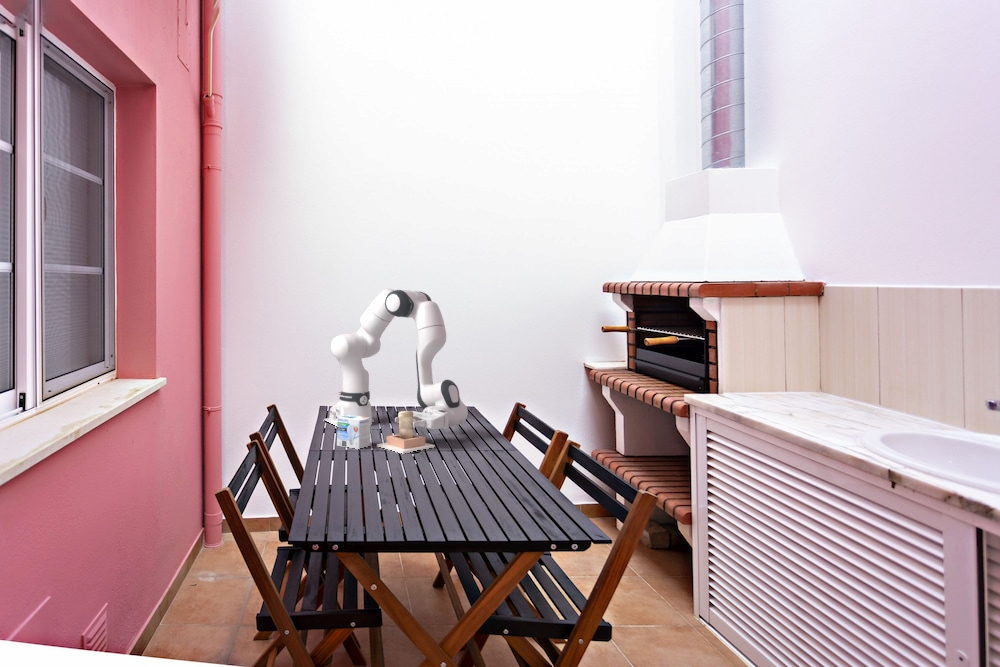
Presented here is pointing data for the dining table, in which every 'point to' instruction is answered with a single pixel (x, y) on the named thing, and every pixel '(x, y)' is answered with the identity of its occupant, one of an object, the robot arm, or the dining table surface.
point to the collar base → (405, 444)
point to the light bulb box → (353, 431)
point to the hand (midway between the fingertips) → (404, 422)
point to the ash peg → (405, 424)
